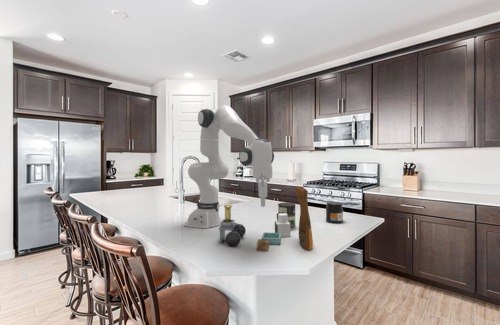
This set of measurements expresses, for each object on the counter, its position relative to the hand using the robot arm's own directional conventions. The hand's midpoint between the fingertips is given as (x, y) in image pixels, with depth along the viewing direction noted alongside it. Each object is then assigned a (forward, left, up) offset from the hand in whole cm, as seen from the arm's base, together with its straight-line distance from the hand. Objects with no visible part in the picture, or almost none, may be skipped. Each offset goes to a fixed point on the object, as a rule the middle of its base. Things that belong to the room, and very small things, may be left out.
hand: (262, 204), depth 114 cm
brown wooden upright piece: (+19, +9, -21) cm, 30 cm away
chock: (0, 0, -21) cm, 21 cm away
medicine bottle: (+8, +22, -21) cm, 32 cm away
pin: (-19, +9, -13) cm, 25 cm away
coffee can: (+10, +36, -21) cm, 43 cm away
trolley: (-17, +8, -21) cm, 28 cm away
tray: (+3, +11, -21) cm, 24 cm away
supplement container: (+40, +54, -21) cm, 70 cm away
